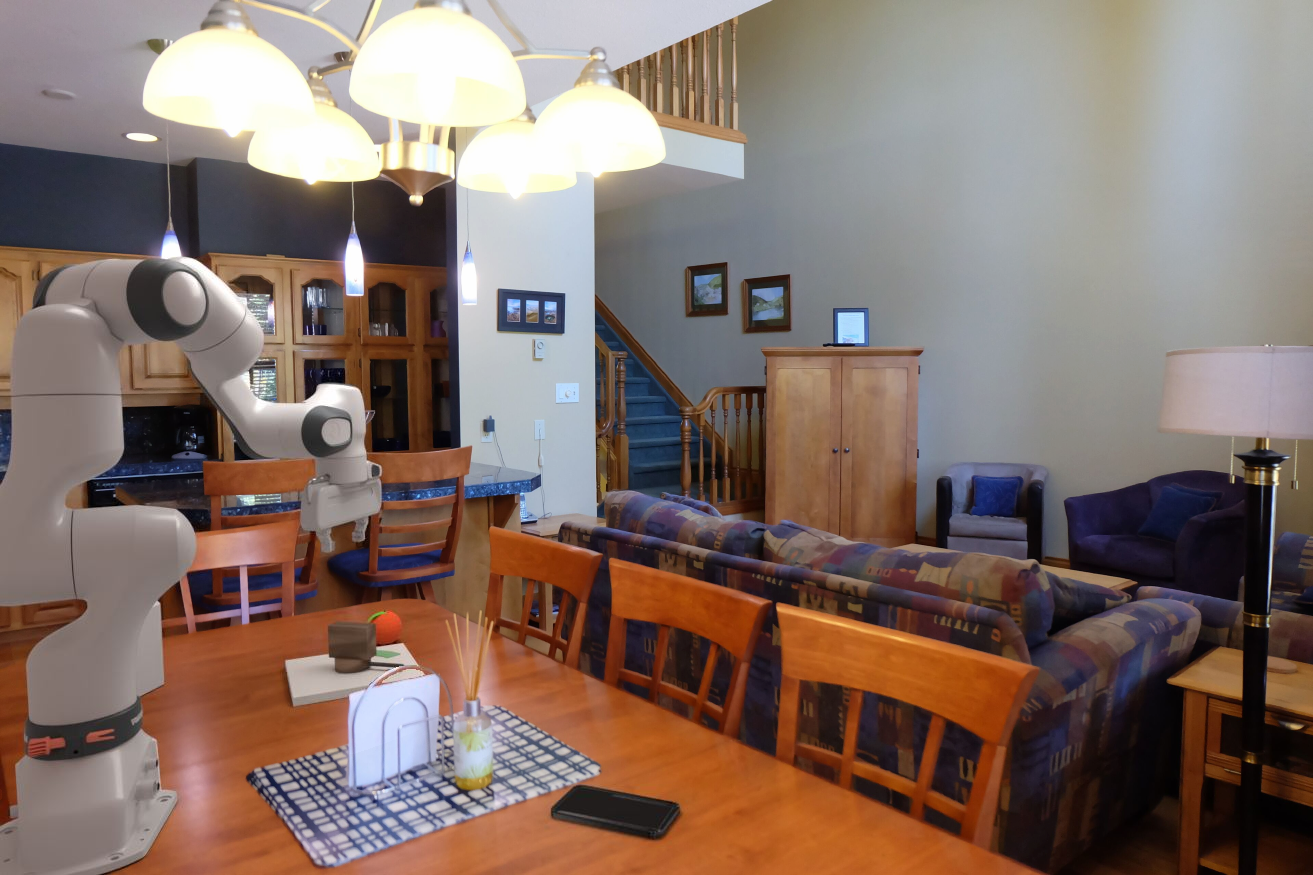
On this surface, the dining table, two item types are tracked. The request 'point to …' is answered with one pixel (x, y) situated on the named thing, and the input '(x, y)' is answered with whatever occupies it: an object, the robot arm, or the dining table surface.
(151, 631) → the milk carton
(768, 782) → the dining table surface
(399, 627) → the clementine
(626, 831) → the phone
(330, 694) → the dial plate
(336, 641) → the tuning knob
